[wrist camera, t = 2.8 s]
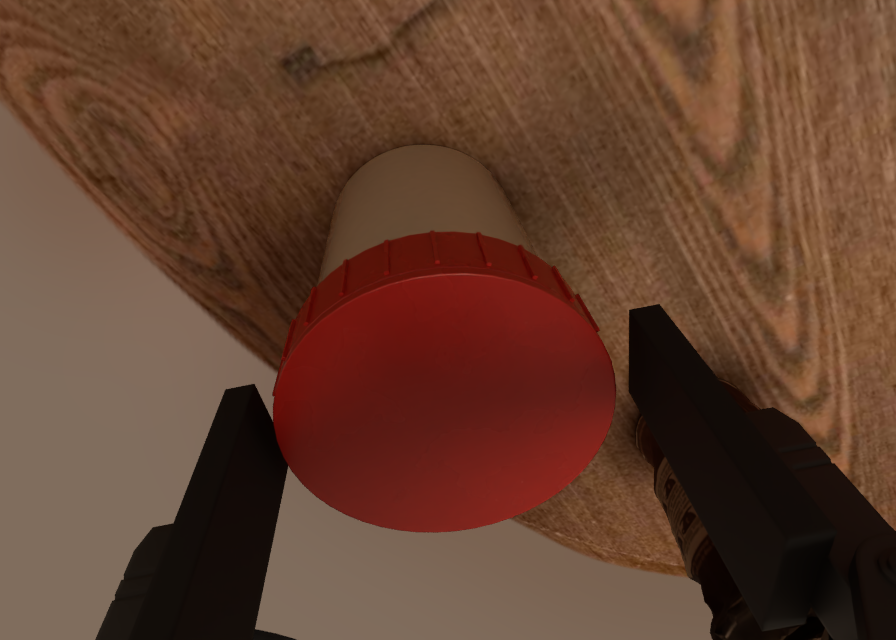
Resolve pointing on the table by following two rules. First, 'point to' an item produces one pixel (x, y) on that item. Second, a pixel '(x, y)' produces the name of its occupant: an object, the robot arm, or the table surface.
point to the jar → (418, 202)
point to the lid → (442, 384)
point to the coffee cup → (712, 551)
